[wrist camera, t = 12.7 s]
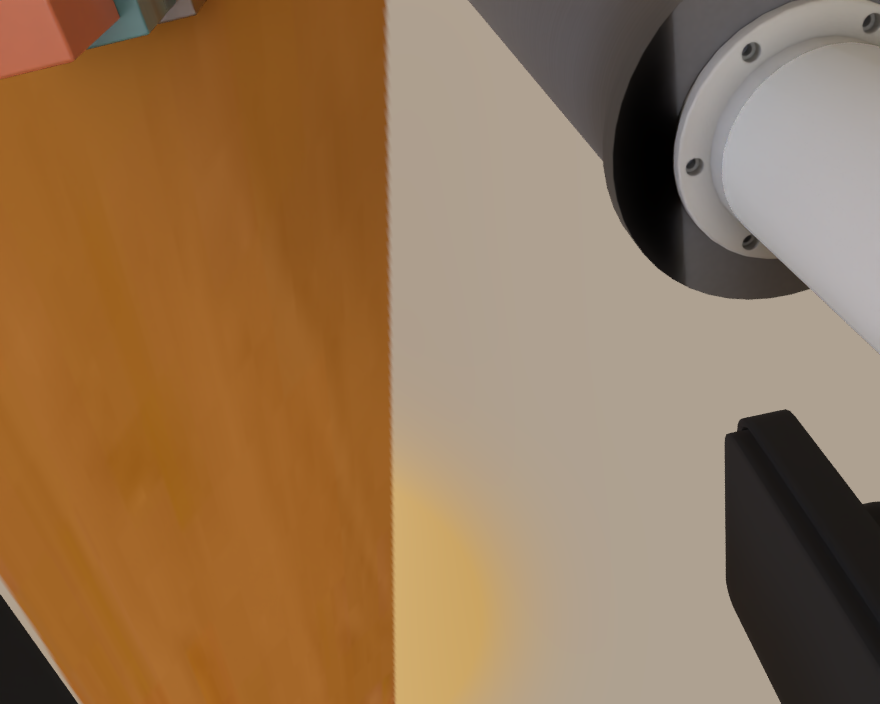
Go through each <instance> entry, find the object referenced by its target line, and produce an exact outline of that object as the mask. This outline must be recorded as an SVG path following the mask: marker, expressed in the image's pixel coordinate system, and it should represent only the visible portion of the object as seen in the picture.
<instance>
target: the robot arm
mask: <svg viewBox="0 0 880 704" xmlns="http://www.w3.org/2000/svg"><path fill="white" fill-rule="evenodd" d="M865 18H866V19H865ZM864 20H865V21H864ZM863 22H864V23H863ZM746 45H748V48H747V50H746V51H745V52H744V53H742V51H743V49H744V47H745V46H746ZM690 160H692V162H691V163H690V164H689V165H687V164H688V162H689V161H690ZM672 171H673V176H674V181H675V186H676V191H677V193H678V196H679V198H680V200H681V202H682V204H683V207H684V209H685V211H686V212H687V213H688V215H689V216H690V217H691V219H692V220H693V221H694V222H695V224H696V225H697V226H698V227H699V228H700V229H701V230H702V231H703V232H704V233H705V234H706V235H707V236H708V237H709V238H710V239H711V240H713V241H714V242H716V243H718V244H719V245H721V246H722V247H724V248H726V249H727V250H729V251H732V252H735V253H738V254H740V255H743V256H747V257H755V258H764V259H777V258H778V259H779V260H780V261H782V262H783V263H784V264H785V265H786V266H787V267H788V268H789V269H790V270H791V271H792V272H793V273H794V274H795V275H796V276H797V277H798V278H800V279H801V280H802V281H803V282H804V283H805V284H806V285H807V286H808V287H809V288H810V289H811V290H812V291H813V292H814V293H815V294H816V295H818V296H819V297H820V298H821V299H822V300H823V301H824V302H825V303H826V304H827V305H828V306H829V307H830V308H831V309H832V310H833V311H834V312H835V313H837V314H838V315H839V316H840V317H841V318H842V319H843V320H844V321H845V322H846V323H847V324H848V325H849V326H850V327H851V328H852V329H853V330H854V331H856V332H857V333H858V334H859V335H860V336H861V337H862V338H863V339H864V340H865V341H866V342H867V343H868V344H869V345H870V346H871V347H872V348H873V349H875V350H876V351H877V352H878V353H879V354H880V4H877V3H874V2H871V1H869V0H797V1H793V2H789V3H787V4H785V5H783V6H780V7H778V8H776V9H774V10H771V11H769V12H767V13H765V14H763V15H761V16H760V17H758V18H757V19H755V20H754V21H752V22H751V23H749V24H748V25H746V26H745V27H743V28H742V29H740V30H739V31H738V32H737V33H736V34H735V35H734V36H733V37H732V38H730V39H729V40H728V41H727V42H726V43H725V44H724V45H723V46H722V47H721V48H720V49H719V50H718V51H717V52H716V53H715V54H714V56H713V57H712V58H711V59H710V61H709V62H708V63H707V64H706V66H705V67H704V68H703V69H702V71H701V72H700V74H699V75H698V77H697V79H696V81H695V82H694V84H693V86H692V88H691V89H690V91H689V93H688V95H687V96H686V99H685V101H684V104H683V107H682V110H681V112H680V115H679V118H678V120H677V124H676V129H675V135H674V140H673V145H672ZM725 519H726V520H725V525H726V527H725V529H726V584H727V589H728V593H729V596H730V599H731V602H732V605H733V607H734V609H735V611H736V613H737V615H738V617H739V619H740V622H741V624H742V626H743V627H744V629H745V632H746V634H747V636H748V638H749V640H750V642H751V643H752V646H753V648H754V650H755V652H756V654H757V656H758V658H759V660H760V662H761V664H762V666H763V668H764V670H765V672H766V674H767V676H768V678H769V680H770V682H771V684H772V686H773V688H774V690H775V692H776V694H777V696H778V698H779V700H780V702H781V704H880V502H871V503H866V504H862V503H861V502H860V501H859V499H858V498H857V497H856V495H855V494H854V493H853V491H852V490H851V489H850V487H849V486H848V485H847V484H846V482H845V481H844V480H843V478H842V477H841V476H840V474H839V473H838V472H837V470H836V469H835V468H834V467H833V465H832V464H831V463H830V461H829V460H828V459H827V458H826V456H825V455H824V453H823V452H822V451H821V450H820V448H819V447H818V446H817V444H816V443H815V442H814V440H813V439H812V438H811V436H810V435H809V434H808V433H807V431H806V430H805V429H804V427H803V426H802V425H801V423H800V422H799V421H798V420H797V418H796V417H795V416H794V415H793V414H792V413H791V412H790V411H788V410H786V409H785V410H780V411H776V412H771V413H766V414H762V415H757V416H752V417H747V418H743V419H741V420H740V421H739V423H738V429H737V432H734V433H729V434H726V437H725ZM0 704H78V703H77V702H76V700H75V699H74V697H73V696H72V694H71V693H70V692H69V690H68V689H67V687H66V686H65V685H64V683H63V682H62V681H61V679H60V678H59V676H58V675H57V673H56V672H55V671H54V669H53V668H52V666H51V665H50V664H49V662H48V661H47V659H46V658H45V657H44V655H43V654H42V653H41V651H40V649H39V648H38V647H37V645H36V644H35V642H34V641H33V640H32V638H31V637H30V635H29V634H28V633H27V631H26V630H25V628H24V627H23V626H22V624H21V623H20V621H19V620H18V619H17V617H16V616H15V615H14V613H13V611H12V610H11V609H10V607H9V606H8V605H7V603H6V602H5V600H4V599H3V597H2V596H1V595H0Z"/></svg>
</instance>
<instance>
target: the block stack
mask: <svg viewBox="0 0 880 704" xmlns="http://www.w3.org/2000/svg"><path fill="white" fill-rule="evenodd" d="M113 1H114V4H115V6H116V9H117V11H118V14H119V20H118V21H117V22H115V23H114V24H113V25H112V26H111V27H110V28H109V29H108V30H107V31H106V32H105V33H103V34H102V35H101V36H100V37H99V38H98V39H97V40H96V41H95V42H94V43H93V44H91V45H90V46H89V47H88V48H87V49H91V48H95V47H99V46H103V45H108V44H112V43H116V42H120V41H124V40H128V39H132V38H136V37H140V36H145V35H148V34H149V33H150V32H151V31H152V30H153V29H154V28H155V26H156V25H157V24H161V23H165V22H170V21H174V20H178V19H182V18H186V17H190V16H194V15H196V14H197V13H198V11H199V10H200V9H201V7H202V6H203V4H204V3H205V1H206V0H113ZM87 49H86V50H87Z"/></svg>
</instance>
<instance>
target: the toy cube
mask: <svg viewBox="0 0 880 704" xmlns="http://www.w3.org/2000/svg"><path fill="white" fill-rule="evenodd" d="M118 20H119V14H118V11H117V9H116V6H115V4H114V1H113V0H0V79H4V78H8V77H12V76H16V75H20V74H24V73H29V72H33V71H37V70H41V69H45V68H49V67H53V66H57V65H61V64H66V63H70V62H73V61H74V60H75V59H76V58H77V57H78V56H80V55H81V54H82V53H83V52H84V51H85V50H86V49H87V48H88V47H89V46H90V45H91V44H93V43H94V42H95V41H96V40H97V39H98V38H99V37H100V36H101V35H102V34H103V33H105V32H106V31H107V30H108V29H109V28H110V27H111V26H112V25H113V24H114V23H115V22H117V21H118Z"/></svg>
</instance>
